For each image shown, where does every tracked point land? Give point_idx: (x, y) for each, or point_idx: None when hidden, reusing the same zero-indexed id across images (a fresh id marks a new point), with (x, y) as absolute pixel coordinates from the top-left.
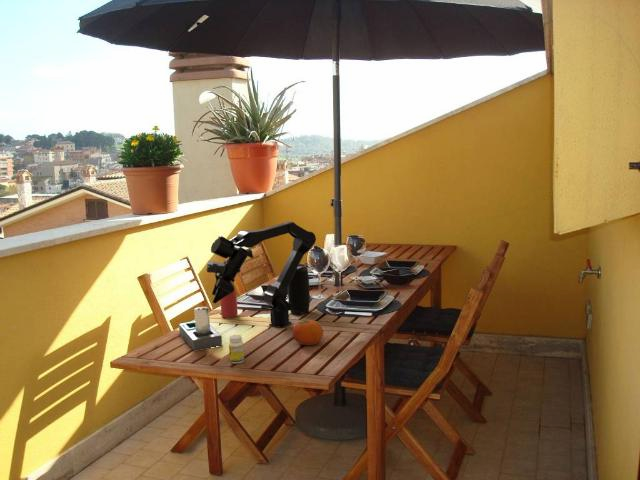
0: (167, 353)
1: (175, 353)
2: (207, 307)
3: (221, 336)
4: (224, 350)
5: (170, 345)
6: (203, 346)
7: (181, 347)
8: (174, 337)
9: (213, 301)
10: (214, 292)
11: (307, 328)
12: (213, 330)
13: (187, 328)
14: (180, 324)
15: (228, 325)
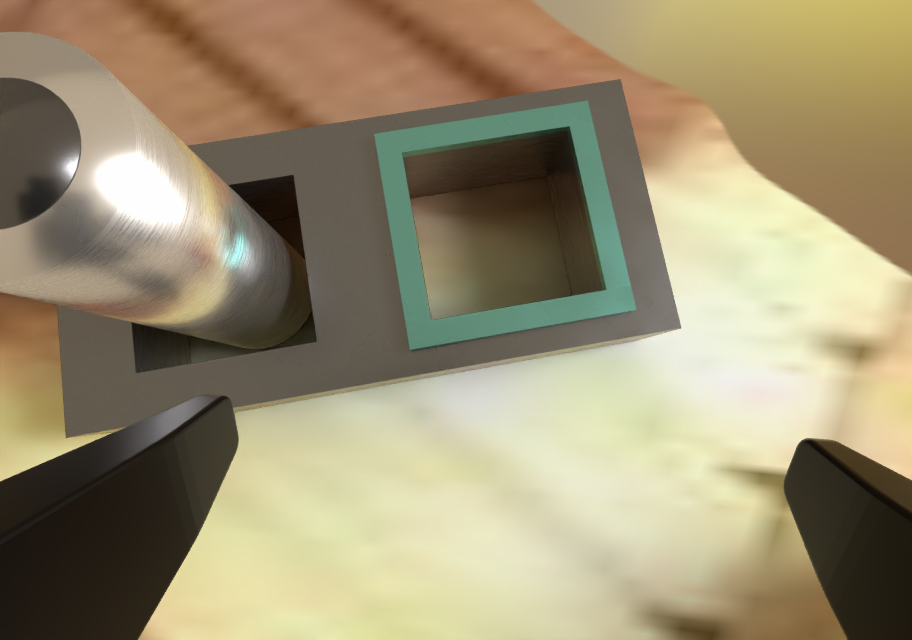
0: (165, 29)
1: (138, 80)
2: (28, 268)
3: (75, 436)
4: (25, 436)
5: (337, 56)
6: None
7: (255, 126)
8: (520, 91)
9: (185, 412)
10: (829, 514)
11: None
12: (262, 375)
13: (400, 136)
14: (592, 90)
15: (700, 550)
